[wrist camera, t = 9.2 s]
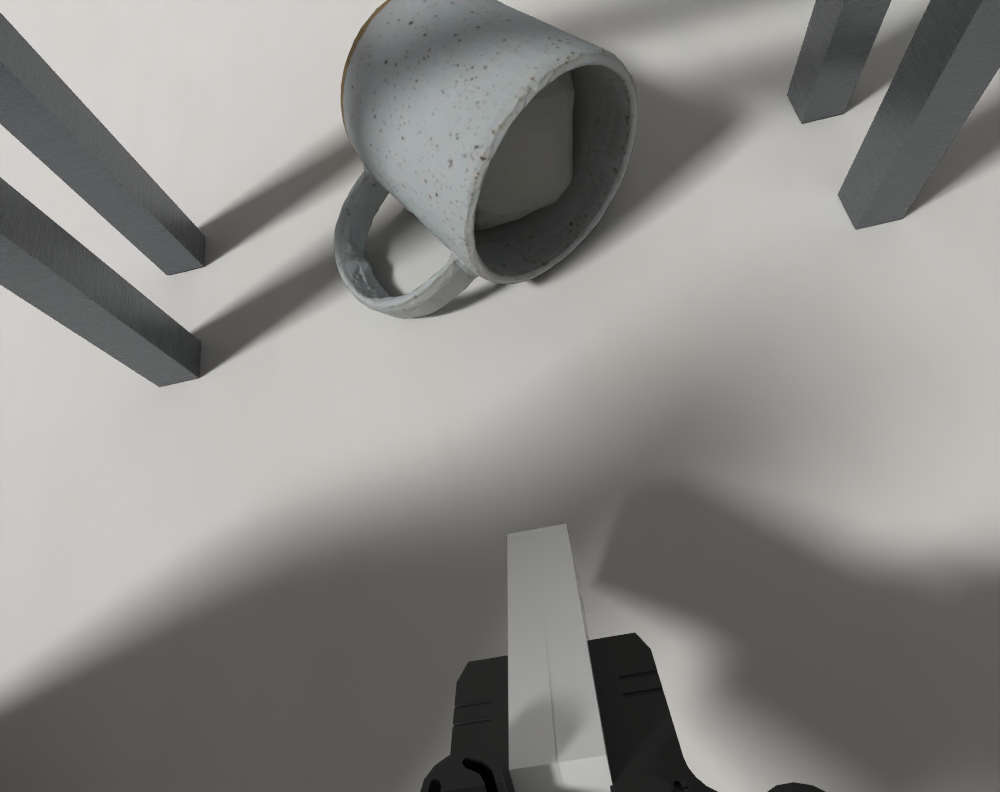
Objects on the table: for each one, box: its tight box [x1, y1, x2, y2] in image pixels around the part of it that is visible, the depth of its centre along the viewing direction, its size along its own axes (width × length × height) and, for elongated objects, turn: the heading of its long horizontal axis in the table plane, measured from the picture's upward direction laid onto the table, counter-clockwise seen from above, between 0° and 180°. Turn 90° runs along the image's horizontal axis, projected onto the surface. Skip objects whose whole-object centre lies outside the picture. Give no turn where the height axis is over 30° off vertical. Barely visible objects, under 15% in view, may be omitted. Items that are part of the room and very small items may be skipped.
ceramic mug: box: [334, 0, 638, 319], centre depth 22 cm, size 11×8×8 cm
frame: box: [0, 0, 1000, 387], centre depth 16 cm, size 28×7×18 cm, turn 99°
